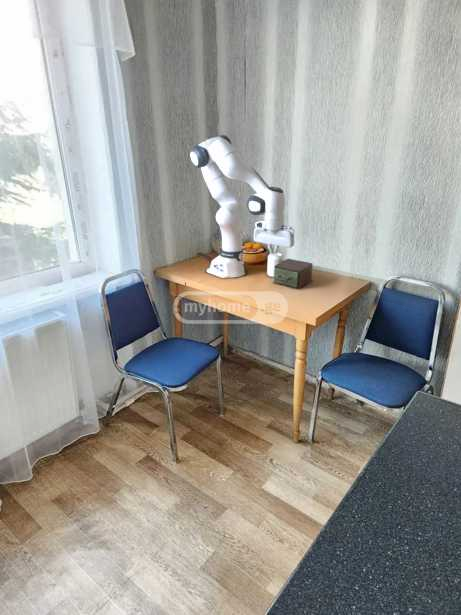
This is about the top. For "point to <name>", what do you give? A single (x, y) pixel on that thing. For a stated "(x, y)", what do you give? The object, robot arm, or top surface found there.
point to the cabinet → (297, 270)
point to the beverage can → (273, 262)
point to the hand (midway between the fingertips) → (273, 253)
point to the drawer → (286, 277)
